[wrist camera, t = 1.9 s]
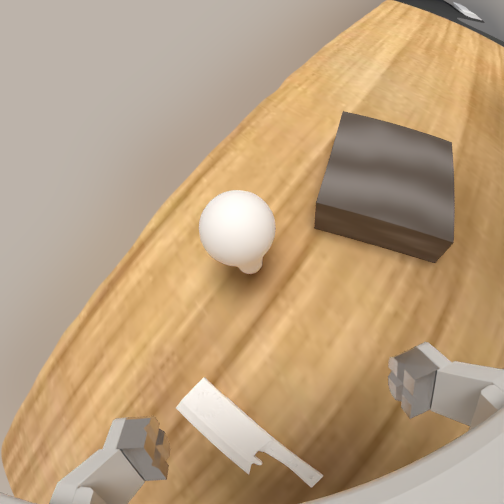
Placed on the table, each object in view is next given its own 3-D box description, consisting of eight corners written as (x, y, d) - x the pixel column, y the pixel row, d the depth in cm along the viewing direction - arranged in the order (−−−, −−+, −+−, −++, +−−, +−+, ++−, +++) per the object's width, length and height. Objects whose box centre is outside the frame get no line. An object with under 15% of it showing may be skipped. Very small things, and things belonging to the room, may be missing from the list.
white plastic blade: (286, 507, 21) (285, 511, 20) (174, 410, 27) (169, 410, 26) (323, 473, 23) (324, 477, 22) (207, 376, 28) (203, 376, 27)
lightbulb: (231, 234, 34) (204, 171, 24) (286, 243, 32) (279, 179, 23) (215, 287, 32) (177, 238, 22) (273, 299, 30) (260, 253, 20)
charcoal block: (340, 139, 38) (342, 111, 33) (439, 167, 34) (451, 142, 29) (314, 228, 33) (316, 202, 28) (434, 262, 29) (453, 242, 25)
